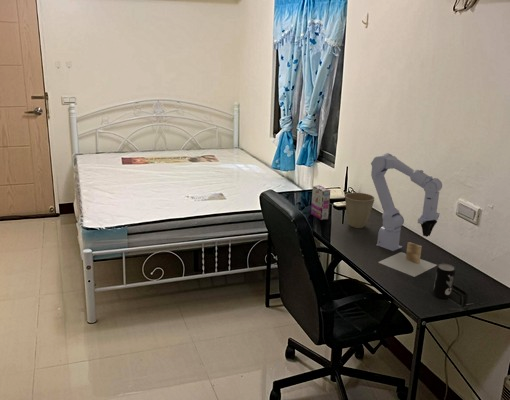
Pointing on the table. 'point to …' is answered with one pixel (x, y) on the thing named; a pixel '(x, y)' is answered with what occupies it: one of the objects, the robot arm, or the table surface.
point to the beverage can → (444, 281)
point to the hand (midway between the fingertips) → (426, 235)
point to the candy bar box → (320, 202)
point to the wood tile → (413, 252)
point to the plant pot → (358, 208)
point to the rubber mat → (407, 264)
